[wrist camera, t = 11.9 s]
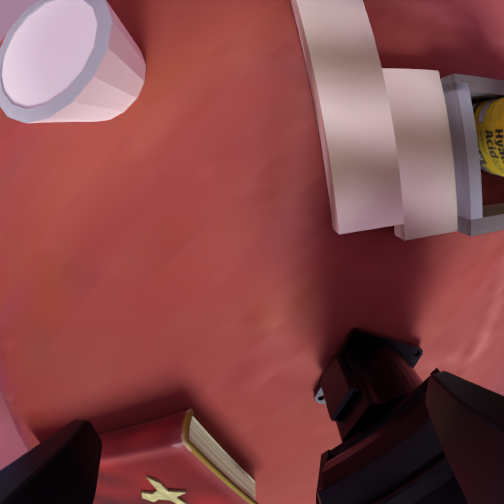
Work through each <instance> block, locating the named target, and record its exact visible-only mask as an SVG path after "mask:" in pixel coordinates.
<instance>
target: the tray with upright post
mask: <svg viewBox="0 0 504 504" xmlns="http://www.w3.org/2000/svg"><path fill="white" fill-rule="evenodd" d="M290 1H291V5H292V8H293V12H294V16H295V20H296V24H297V28H298V32H299V36H300V41H301V45H302V49H303V54H304V58H305V63H306V67H307V72H308V77H309V81H310V86H311V91H312V96H313V102H314V107H315V112H316V118H317V123H318V129H319V135H320V141H321V147H322V153H323V160H324V166H325V173H326V180H327V187H328V194H329V202H330V210H331V218H332V226H333V230H335V231H336V232H337V233H338V234H345V233H352V232H358V231H364V230H370V229H376V228H382V227H388V226H394V233H395V235H396V236H397V237H399V238H401V239H403V240H405V241H406V240H411V239H417V238H422V237H428V236H433V235H439V234H444V233H449V232H455V231H459V232H461V233H464V234H466V235H469V236H475V235H480V234H485V233H490V232H495V231H499V230H504V203H497V204H490V205H483V206H482V184H481V170H480V158H479V149H478V140H477V133H476V126H475V119H474V113H473V107H472V102H471V99H474V100H487V99H493V98H501V97H504V80H498V79H492V78H485V77H478V76H470V75H462V74H451V75H448V76H445V77H442V78H440V75H439V71H436V70H421V69H396V68H382V67H381V63H380V59H379V55H378V51H377V47H376V43H375V40H374V36H373V32H372V29H371V25H370V22H369V19H368V15H367V12H366V9H365V6H364V3H363V0H290Z"/></svg>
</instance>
